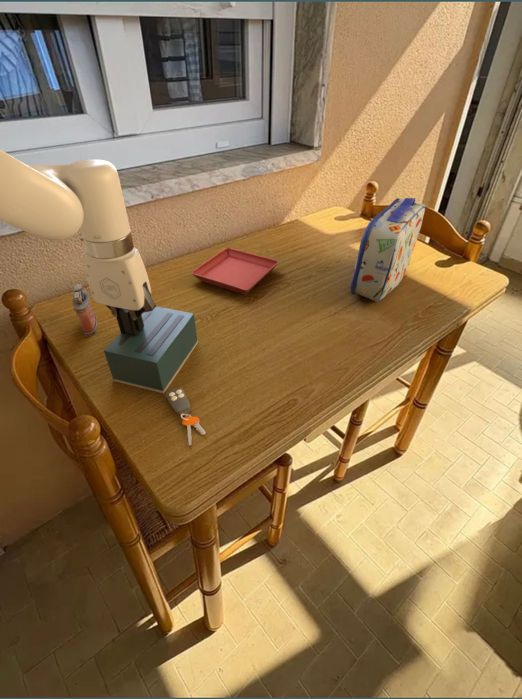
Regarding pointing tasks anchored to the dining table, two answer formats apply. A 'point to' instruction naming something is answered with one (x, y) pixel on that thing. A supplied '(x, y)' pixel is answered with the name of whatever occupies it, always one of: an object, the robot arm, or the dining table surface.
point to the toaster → (153, 350)
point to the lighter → (84, 311)
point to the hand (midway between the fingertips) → (132, 330)
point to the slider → (125, 320)
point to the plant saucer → (235, 270)
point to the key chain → (183, 410)
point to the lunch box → (387, 249)
